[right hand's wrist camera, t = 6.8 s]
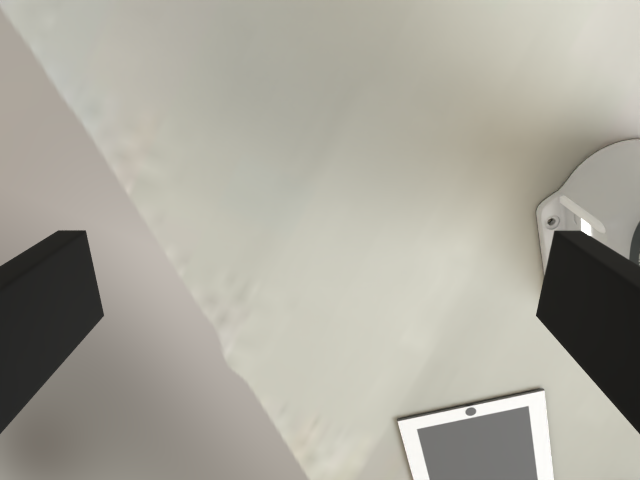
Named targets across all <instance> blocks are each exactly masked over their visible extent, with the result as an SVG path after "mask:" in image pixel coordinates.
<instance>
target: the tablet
mask: <svg viewBox="0 0 640 480" xmlns="http://www.w3.org/2000/svg"><path fill="white" fill-rule="evenodd" d="M397 421H398V425H399V428H400V432H401V436H402V439H403V443H404V447H405V450H406V454H407V458H408V461H409V465H410V469H411V472H412V476H413V480H554V477H553V467H552V458H551V448H550V439H549V429H548V420H547V411H546V401H545V392H544V389H539V390H534V391H530V392H525V393H520V394H515V395H511V396H506V397H501V398H496V399H492V400H487V401H482V402H478V403H473V404H468V405H463V406H459V407H454V408H449V409H444V410H440V411H435V412H430V413H425V414H421V415H416V416H411V417H407V418H402V419H397Z"/></svg>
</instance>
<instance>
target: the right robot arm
mask: <svg viewBox="0 0 640 480" xmlns="http://www.w3.org/2000/svg"><path fill="white" fill-rule="evenodd" d="M103 316H104V313H103V309H102V304H101V299H100V295H99V290H98V286H97V281H96V276H95V271H94V267H93V262H92V257H91V253H90V248H89V244H88V239H87V234H86V231H57V232H55V233H54V234H52V235H50V236H49V237H47V238H45V239H44V240H42V241H41V242H39V243H37V244H36V245H34V246H32V247H31V248H29V249H28V250H26V251H24V252H23V253H21V254H20V255H18V256H16V257H15V258H13V259H11V260H10V261H8V262H7V263H5V264H3V265H2V266H0V434H1V432H2V431H3V430H4V429H5V428H6V427H7V426H8V424H9V423H10V422H11V421H12V420H13V419H14V418H15V417H16V415H17V414H18V413H19V412H20V411H21V410H22V409H23V407H24V406H25V405H26V404H27V403H28V402H29V400H30V399H31V398H32V397H33V396H34V395H35V394H36V393H37V391H38V390H39V389H40V388H41V387H42V386H43V385H44V383H45V382H46V381H47V380H48V379H49V378H50V377H51V375H52V374H53V373H54V372H55V371H56V370H57V369H58V367H59V366H60V365H61V364H62V363H63V362H64V361H65V359H66V358H67V357H68V356H69V355H70V354H71V353H72V351H73V350H74V349H75V348H76V347H77V346H78V345H79V344H80V342H81V341H82V340H83V339H84V338H85V337H86V335H87V334H88V333H89V332H90V331H91V330H92V329H93V328H94V326H95V325H96V324H97V323H98V322H99V321H100V320H101V318H102V317H103ZM536 316H537V317H538V318H539V320H540V321H541V322H542V323H543V324H544V325H545V326H546V328H547V329H548V330H549V331H550V332H551V333H552V334H553V336H554V337H555V338H556V339H557V340H558V341H559V342H560V344H561V345H562V346H563V347H564V348H565V349H566V350H567V352H568V353H569V354H570V355H571V356H572V357H573V358H574V359H575V361H576V362H577V363H578V364H579V365H580V366H581V367H582V369H583V370H584V371H585V372H586V373H587V374H588V375H589V377H590V378H591V379H592V380H593V381H594V382H595V383H596V385H597V386H598V387H599V388H600V389H601V390H602V391H603V393H604V394H605V395H606V396H607V397H608V398H609V399H610V401H611V402H612V403H613V404H614V405H615V406H616V407H617V409H618V410H619V411H620V412H621V413H622V414H623V415H624V417H625V418H626V419H627V420H628V421H629V422H630V423H631V424H632V426H633V427H634V428H635V429H636V430H637V431H638V432H639V434H640V266H638V265H637V264H635V263H634V262H632V261H630V260H629V259H627V258H625V257H624V256H622V255H621V254H619V253H617V252H616V251H614V250H612V249H611V248H609V247H608V246H606V245H604V244H603V243H601V242H599V241H598V240H596V239H595V238H593V237H591V236H590V235H588V234H586V233H585V232H583V231H554V234H553V239H552V243H551V248H550V253H549V257H548V262H547V267H546V271H545V276H544V281H543V285H542V290H541V295H540V299H539V304H538V309H537V313H536Z"/></svg>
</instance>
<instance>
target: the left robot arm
mask: <svg viewBox="0 0 640 480" xmlns="http://www.w3.org/2000/svg"><path fill="white" fill-rule="evenodd" d="M536 217H537V224H538V232H539V240H540V247H541V255H542V262H543V270H544V276H545V271H546V267H547V262H548V257H549V253H550V248H551V243H552V239H553V234H554V231H583V232H585V233H586V234H588V235H590V236H591V237H593V238H595V239H596V240H598V241H599V242H601V243H603V244H604V245H606V246H608V247H609V248H611V249H612V250H614V251H616V252H617V253H619V254H621V255H622V256H624V257H625V258H627V259H629V260H630V261H632V262H634V263H635V264H637V265H638V266H640V139H632V140H625V141H621V142H617V143H614V144H612V145H609V146H607V147H605V148H603V149H601V150H599V151H597V152H596V153H594V154H593V155H591V156H590V157H589V158H587V159H586V160H585V161H584V162H583V163H582V164H580V165H579V166H578V167H577V169H576V170H575V171H574V172H573V173H572V174H571V176H570V177H569V178H568V180H567V181H566V182H565V184H564V185H563V186H562V187H561V188H560V189H559V190H558V191H557V192H555V193H554V194H552V195H551V196H549V197H548V198H546V199H545V200H544V201H543V202H542V203H541V204H540V205H539V206H538V208H537V210H536ZM551 218H552V221H551V222H550V223H548V220H549V219H551Z"/></svg>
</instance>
